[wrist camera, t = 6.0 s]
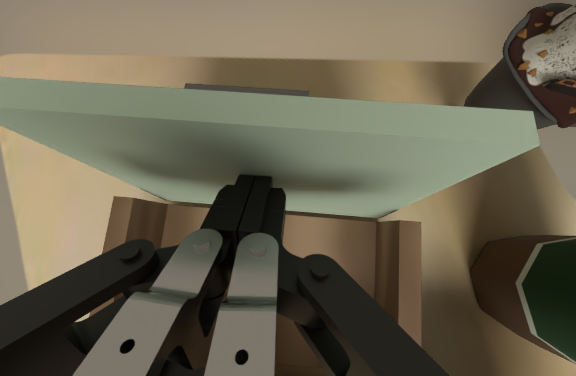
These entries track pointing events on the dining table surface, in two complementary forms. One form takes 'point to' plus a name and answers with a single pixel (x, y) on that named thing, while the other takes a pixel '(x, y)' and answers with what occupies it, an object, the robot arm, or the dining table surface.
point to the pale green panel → (266, 141)
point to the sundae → (536, 69)
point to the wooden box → (301, 242)
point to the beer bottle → (531, 289)
